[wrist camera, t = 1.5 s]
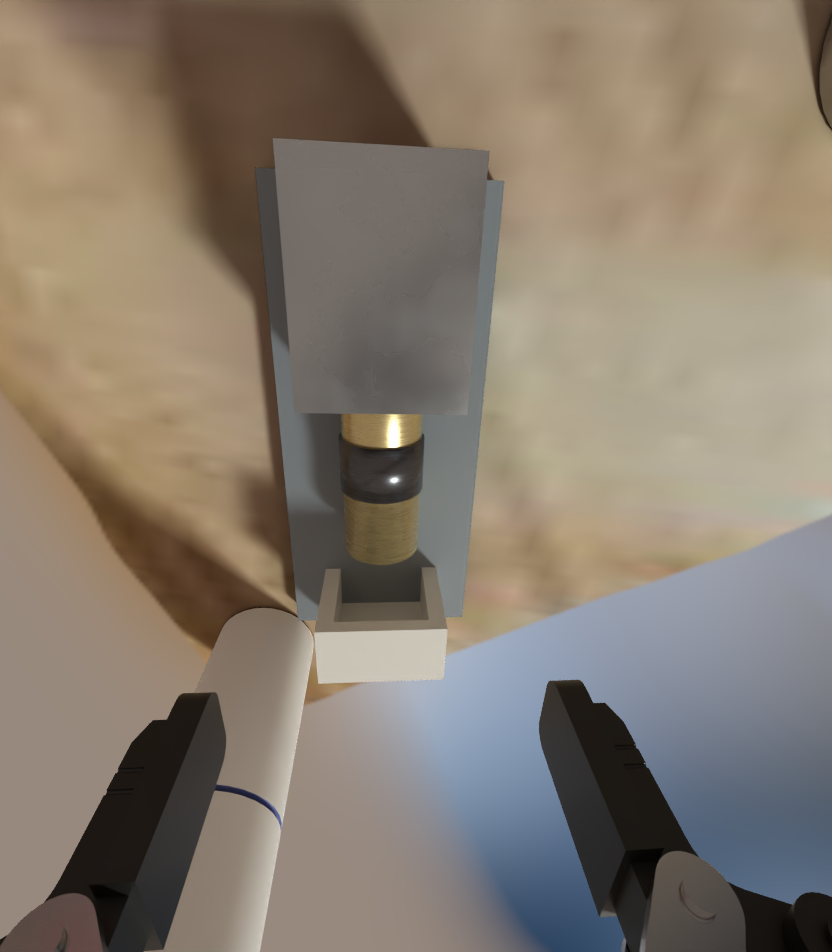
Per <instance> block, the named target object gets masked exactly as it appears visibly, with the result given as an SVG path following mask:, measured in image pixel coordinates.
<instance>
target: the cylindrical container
mask: <svg viewBox="0 0 832 952" xmlns="http://www.w3.org/2000/svg"><path fill="white" fill-rule="evenodd" d="M313 647H314V641H313V636H312V634H311V632H310V630H309V629H308V627H307V626H306V625H305V624H304V623H303V622H302V621H298V618H297V617H295V616H293V615H292V614H290V613H287V612H284V611H282V610H277V609H272V608H254V609H250V610H245V611H243V612H240V613H238V614H236V615H235V616H233V617H232V618H230V619H229V620H228V621H227V622H226V623H225V625H224V626H223V628H222V630H221V632H220V634H219V637H218V639H217V641H216V644H215V646H214V648H213V651H212V653H211V655H210V658H209V660H208V662H207V664H206V667H205V669H204V672H203V674H202V676H201V678H200V681H199V683H198V685H197V688H196V690H195V692H194V693H208V692H215V693H217V695H218V699H219V703H220V708H221V713H222V718H223V722H224V727H225V732H226V751H225V757H224V761H223V765H222V768H221V771H220V774H219V778H218V781H217V784H216V787H215V790H214V793H213V796H212V799H211V803H210V806H209V809H208V812H207V815H206V818H205V821H204V825H203V828H202V831H201V834H200V837H199V840H198V843H197V846H196V850H195V853H194V856H193V859H192V862H191V865H190V868H189V872H188V875H187V878H186V881H185V884H184V887H183V890H182V893H181V897H180V900H179V903H178V906H177V909H176V912H175V915H174V919H173V922H172V925H171V928H170V931H169V934H168V937H167V940H166V944H165V947H164V950H155V951H144V952H260V947H261V941H262V935H263V930H264V924H265V919H266V913H267V908H268V902H269V896H270V891H271V885H272V879H273V874H274V868H275V862H276V857H277V851H278V846H279V840H280V832H281V829H282V823H283V817H284V812H285V806H286V800H287V794H288V789H289V783H290V778H291V772H292V766H293V761H294V755H295V749H296V744H297V738H298V732H299V727H300V721H301V715H302V710H303V705H304V699H305V693H306V688H307V682H308V676H309V671H310V665H311V659H312V654H313Z"/></svg>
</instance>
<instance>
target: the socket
mask: <svg viewBox="0 0 832 952" xmlns="http://www.w3.org/2000/svg"><path fill="white" fill-rule="evenodd" d="M314 635H315V648H316V661H317V674H318V684H320V683H348V682H376V681H402V680H404V681H405V680H430V679H431V680H433V679H443V678H444V666H445V654H446V641H447V624H446V618H445V613H444V608H443V602H442V597H441V592H440V586H439V581H438V576H437V570H436V567H422V571H421V592H420V602H378V603H342V589H341V569H326V571H325V577H324V582H323V588H322V593H321V598H320V604H319V609H318V615H317V620H316V626H315V631H314Z"/></svg>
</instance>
